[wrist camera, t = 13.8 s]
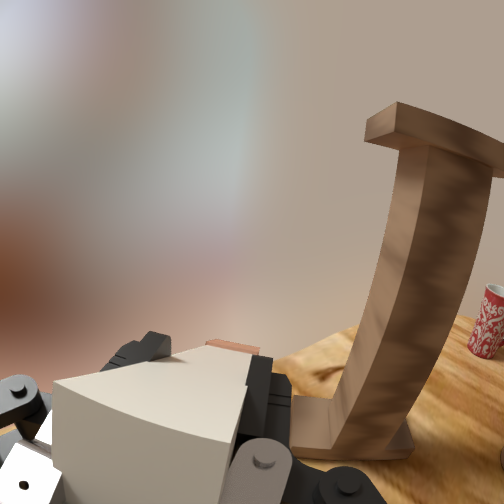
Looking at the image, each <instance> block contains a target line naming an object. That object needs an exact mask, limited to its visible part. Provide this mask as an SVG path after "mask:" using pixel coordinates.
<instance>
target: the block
mask: <svg viewBox="0 0 504 504" xmlns="http://www.w3.org/2000/svg"><path fill="white" fill-rule="evenodd" d="M259 349H260V347H254V346H249V345H243V344H239V343H234V342H229V341H224V340H219V339H214V340H210V341H206V344H205V346H202V347H198V348H195V349H191V350H187V351H184V352H180V353H177V354H173V355H171V356H169V357H166V358H162V359H158V360H155V361H151V362H147V361H146V362H142V363H138V364H133V365H129V366H125V367H121V368H116V369H112V370H107V371H103V372H98V373H93V374H88V375H84V376H78V377H73V378H68V379H62V380H57V381H53V391H52V411H51V452H52V467H53V468H54V469H56V470H58V471H59V472H61V473H62V479H63V485H64V491H65V496H66V501H65V502H64V503H63V504H220V500H221V496H222V492H223V488H224V484H225V480H226V476H227V472H228V470H229V468H230V466H231V461H232V456H233V451H234V446H235V441H236V435H237V431H238V426H239V422H240V418H241V413H242V409H243V404H244V400H245V396H246V391H247V387H248V386H245V383H246V379H247V375H248V370H249V366H250V362H251V357H252V354H253V355H258V354H259Z"/></svg>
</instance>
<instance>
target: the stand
mask: <svg viewBox="0 0 504 504" xmlns="http://www.w3.org/2000/svg"><path fill="white" fill-rule="evenodd" d="M364 141H365V142H368V143H372V144H377V145H381V146H385V147H389V148H392V149H396V150H399V157H398V164H397V171H396V177H395V183H394V189H393V194H392V201H391V205H390V210H389V215H388V221H387V225H386V230H385V234H384V238H383V243H382V247H381V251H380V255H379V259H378V263H377V267H376V271H375V275H374V278H373V282H372V286H371V289H370V293H369V296H368V299H367V303H366V306H365V310H364V313H363V316H362V319H361V322H360V325H359V328H358V331H357V334H356V337H355V340H354V343H353V346H352V349H351V352H350V355H349V357H348V360H347V363H346V366H345V368H344V371H343V374H342V376H341V379H340V381H339V384H338V386H337V389H336V391H335V394H334V396H333V399H325V398H315V397H307V396H298V395H294V397H293V400H292V403H291V417H290V436H289V446H290V450H291V452H292V454H293V455H294V456H295V457H297V458H309V459H324V460H391V459H405V458H408V457H409V455H410V454H411V453H412V452H413V450H414V449H415V446H414V443H413V440H412V437H411V434H410V431H409V428H408V425H407V422H406V419H405V418H406V416H407V414H408V413H409V411H410V409H411V408H412V406H413V404H414V403H415V401H416V399H417V397H418V396H419V394H420V392H421V390H422V388H423V386H424V385H425V383H426V381H427V379H428V377H429V375H430V373H431V371H432V369H433V367H434V365H435V363H436V361H437V359H438V357H439V355H440V353H441V350H442V348H443V346H444V344H445V342H446V339H447V337H448V335H449V332H450V330H451V327H452V325H453V323H454V320H455V318H456V315H457V312H458V310H459V307H460V304H461V301H462V298H463V296H464V293H465V290H466V287H467V284H468V281H469V278H470V275H471V271H472V268H473V265H474V261H475V258H476V254H477V251H478V247H479V243H480V239H481V235H482V231H483V226H484V221H485V217H486V211H487V207H488V200H489V196H490V189H491V182H492V177H497V178H504V143H502V142H499V141H498V140H496V139H493V138H491V137H489V136H487V135H485V134H483V133H481V132H479V131H476V130H474V129H472V128H469V127H467V126H465V125H462V124H460V123H457V122H455V121H452V120H450V119H447V118H444V117H442V116H439V115H436V114H434V113H431V112H428V111H425V110H422V109H419V108H416V107H413V106H410V105H407V104H404V103H400V102H395V103H394V104H392V105H390V106H388V107H387V108H386V109H384V110H382V111H380V112H379V113H377V114H375V115H374V116H372V117H370V118H369V119H367V123H366V131H365V139H364Z"/></svg>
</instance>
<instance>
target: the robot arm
mask: <svg viewBox="0 0 504 504" xmlns="http://www.w3.org/2000/svg"><path fill="white" fill-rule="evenodd" d="M169 356H171V338H170V336H168V335H164V334H159V333H156V332H152V331H149V332H148V333H147V334H146V335H145V336H144V338H143V339H142V340H141V341H140V342H138V341H131V342H130V343H127V344H125V345H124V346H122V347H121V348H120V349H119V350H118V352H116V354H115V356H113V357H112V358H111V359H110V360H109V363H107V364H106V365H105V366H104V367H103V368H102V369H101V370H100V372H103V371H107V370H112V369H116V368H121V367H125V366H129V365H133V364H138V363H142V362H146V361H147V362H151V361H155V360H158V359H162V358H166V357H169ZM272 364H273V358H270V357H265V356H259V355H253V354H252V357H251V362H250V366H249V370H248V375H247V379H246V383H245V386H248V387H247V391H246V396H245V400H244V404H243V409H242V413H241V418H240V422H239V426H238V431H237V435H236V441H235V446H234V451H233V456H232V461H231V466H230V468H229V470H228V472H227V476H226V480H225V484H224V488H223V492H222V496H221V500H220V504H387V503H386V501H385V500H384V499H383V497H382V496H381V494H380V493H379V492H378V490H377V489H376V487H375V486H374V485H373V483H372V482H371V480H370V479H369V478H368V476H367V475H366V474H365V473H363V472H362V471H360V470H358V469H356V468H353V467H348V466H341V467H335V468H333V469H330V470H329V471H327V472H324V471H321V470H318V469H315V468H312V467H309V466H307V465H305V464H303V463H301V462H300V461H299V460H297V459H296V458H295V456H294V455H293V454H292V452H291V450H290V446H289V436H290V417H291V392H292V385H291V383H290V381H289V379H288V378H287V376H286V375H285V374H278V373H272ZM51 411H52V394H49V393H45V392H40V391H39V389H38V386H37V384H36V382H35V380H34V379H32V378H31V377H29V376H26V375H13V376H10V377H8V378H5V379H3V380H0V429H1V428H3V427H6V426H8V425H10V424H13V423H14V424H15V426H16V428H17V429H15V430H13V431H11V432H8V433H6V434H4V435H1V436H0V504H63V503H64V502H65V501H66V496H65V491H64V485H63V479H62V473H61V472H59V471H58V470H56V469H54V468H53V467H52V452H51ZM501 463H502V466H503V469H504V447H503V449H502V452H501Z"/></svg>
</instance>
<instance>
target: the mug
mask: <svg viewBox="0 0 504 504" xmlns="http://www.w3.org/2000/svg"><path fill="white" fill-rule="evenodd" d="M503 337H504V287H501V286H498V285H495V284H487V285H486V291H485V294H484V297H483V301H482V304H481V307H480V310H479V314H478V316H477V319H476V322H475V325H474V328H473V331H472V333H471V336H470V339H469V341H468V344H467V346H468V349H469V350H470V351H471V352H472V353H473V354H475V355H476V356H479V357H481V358H485V359H490V358H492V357H493V356H494V354H495V353H496V351H497V349H498V348H499V347H501V346H503V345H504V339H503Z"/></svg>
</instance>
